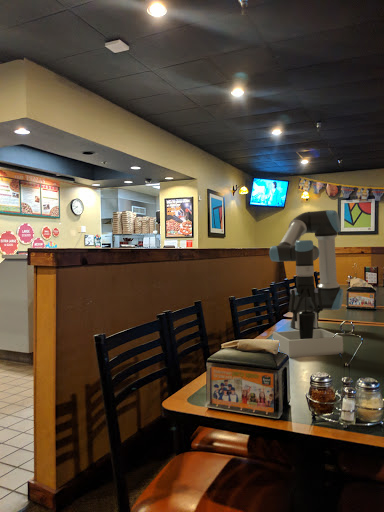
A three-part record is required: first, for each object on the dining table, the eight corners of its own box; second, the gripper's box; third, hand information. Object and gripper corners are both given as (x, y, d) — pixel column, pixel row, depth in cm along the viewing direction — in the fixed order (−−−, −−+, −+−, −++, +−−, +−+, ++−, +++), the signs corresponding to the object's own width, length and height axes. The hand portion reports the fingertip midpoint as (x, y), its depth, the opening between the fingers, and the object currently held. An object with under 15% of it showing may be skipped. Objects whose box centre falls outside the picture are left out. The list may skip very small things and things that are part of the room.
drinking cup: (316, 346, 170) (315, 299, 170) (298, 346, 172) (296, 299, 171) (314, 342, 177) (313, 297, 177) (297, 342, 179) (295, 297, 179)
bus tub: (322, 343, 185) (321, 328, 185) (343, 353, 168) (342, 336, 168) (272, 347, 181) (272, 332, 181) (289, 357, 164) (288, 340, 164)
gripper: (286, 277, 169) (287, 331, 169) (331, 275, 172) (332, 328, 172) (279, 276, 176) (280, 327, 176) (322, 274, 180) (323, 325, 180)
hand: (306, 327), depth 174 cm, fingers closed on drinking cup, 7 cm apart
